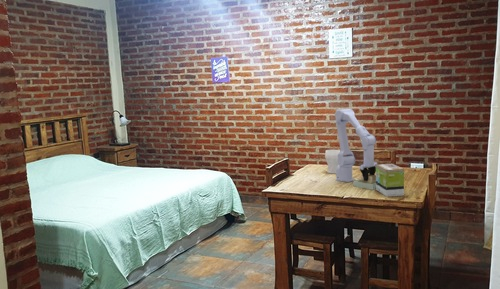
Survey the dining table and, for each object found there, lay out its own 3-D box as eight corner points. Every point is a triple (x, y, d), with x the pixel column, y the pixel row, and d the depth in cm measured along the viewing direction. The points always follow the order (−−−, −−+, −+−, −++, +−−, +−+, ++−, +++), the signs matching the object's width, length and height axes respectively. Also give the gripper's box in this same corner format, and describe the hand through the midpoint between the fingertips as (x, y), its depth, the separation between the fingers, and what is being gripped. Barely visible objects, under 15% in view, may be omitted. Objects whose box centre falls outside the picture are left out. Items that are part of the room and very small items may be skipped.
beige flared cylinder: (343, 171, 293) (343, 149, 291) (337, 174, 285) (337, 152, 283) (328, 170, 299) (328, 149, 297) (322, 173, 290) (322, 151, 288)
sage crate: (353, 186, 251) (353, 181, 250) (364, 182, 258) (364, 178, 257) (372, 189, 241) (372, 184, 240) (384, 186, 248) (384, 181, 247)
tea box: (375, 190, 239) (375, 164, 238) (392, 189, 240) (392, 163, 238) (386, 197, 225) (386, 169, 223) (404, 195, 225) (404, 168, 224)
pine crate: (361, 182, 250) (361, 175, 249) (366, 181, 253) (366, 173, 253) (371, 184, 245) (371, 176, 244) (376, 183, 248) (376, 175, 247)
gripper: (367, 159, 239) (367, 183, 241) (382, 155, 248) (382, 178, 250) (356, 157, 245) (356, 181, 246) (371, 154, 254) (371, 177, 256)
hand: (368, 179), depth 249 cm, fingers closed on pine crate, 5 cm apart
